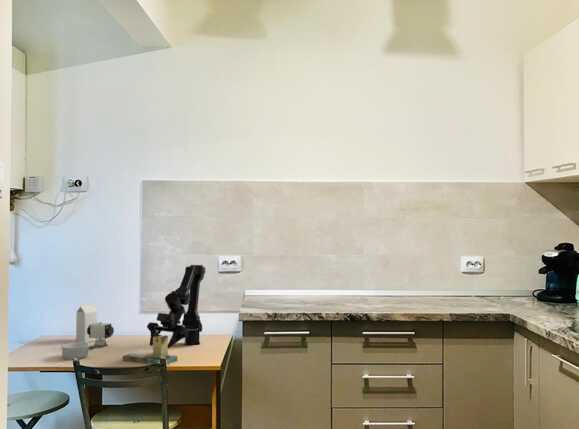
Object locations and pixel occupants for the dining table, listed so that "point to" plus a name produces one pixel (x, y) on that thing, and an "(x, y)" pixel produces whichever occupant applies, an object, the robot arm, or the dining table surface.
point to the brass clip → (160, 346)
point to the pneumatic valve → (100, 332)
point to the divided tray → (146, 357)
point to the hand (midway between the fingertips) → (159, 346)
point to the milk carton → (85, 322)
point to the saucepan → (77, 350)
